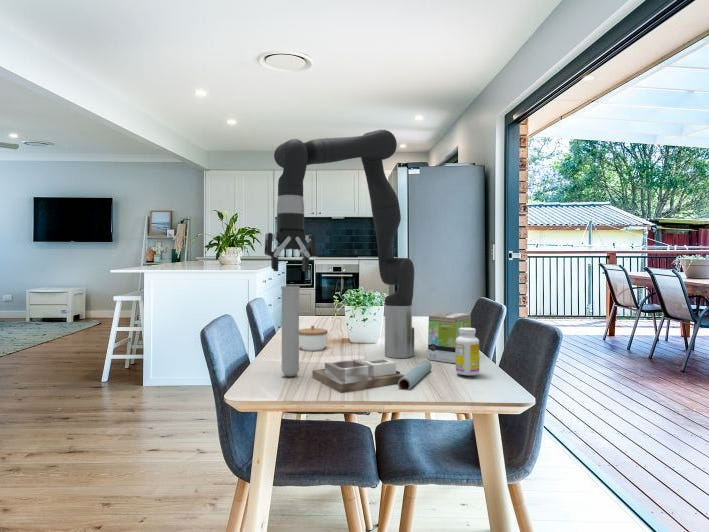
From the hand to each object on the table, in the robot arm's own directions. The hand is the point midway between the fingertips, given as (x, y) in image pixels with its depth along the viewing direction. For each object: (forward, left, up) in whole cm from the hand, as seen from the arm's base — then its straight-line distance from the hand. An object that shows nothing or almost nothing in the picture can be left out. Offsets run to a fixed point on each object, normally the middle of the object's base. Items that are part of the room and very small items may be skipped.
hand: (290, 271), depth 124 cm
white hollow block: (-19, +16, -27) cm, 37 cm away
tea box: (-56, +2, -30) cm, 63 cm away
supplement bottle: (-46, +21, -30) cm, 58 cm away
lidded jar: (-20, -30, -30) cm, 47 cm away
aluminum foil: (-28, +18, -30) cm, 45 cm away
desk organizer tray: (-14, +12, -29) cm, 35 cm away
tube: (0, 0, -30) cm, 30 cm away
